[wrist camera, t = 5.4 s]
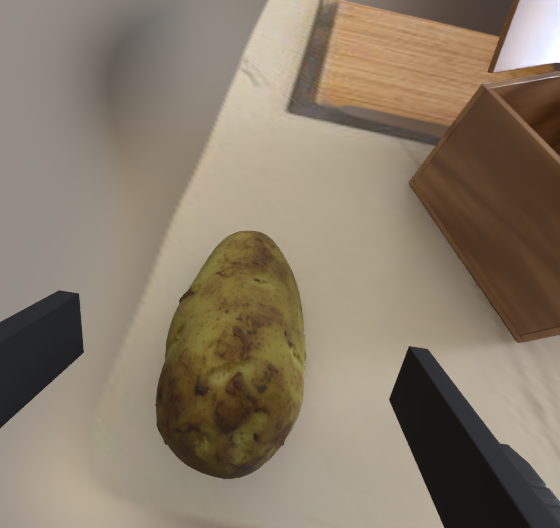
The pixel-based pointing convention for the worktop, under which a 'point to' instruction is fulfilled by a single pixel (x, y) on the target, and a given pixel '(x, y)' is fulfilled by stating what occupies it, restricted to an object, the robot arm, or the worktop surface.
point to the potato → (234, 360)
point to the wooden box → (504, 198)
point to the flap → (528, 36)
